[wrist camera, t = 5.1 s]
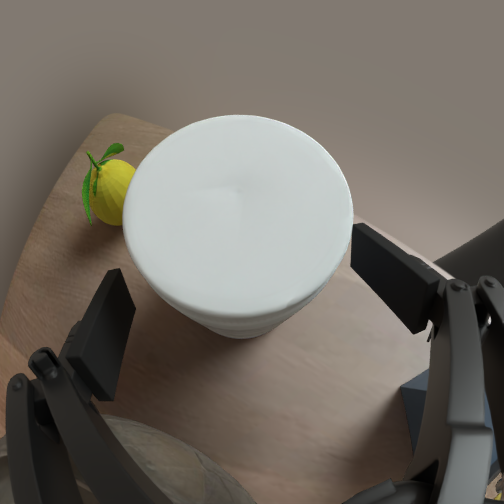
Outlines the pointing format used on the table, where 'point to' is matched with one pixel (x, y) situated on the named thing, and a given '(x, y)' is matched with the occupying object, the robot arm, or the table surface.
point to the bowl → (156, 467)
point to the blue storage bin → (414, 409)
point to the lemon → (107, 187)
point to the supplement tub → (238, 222)
